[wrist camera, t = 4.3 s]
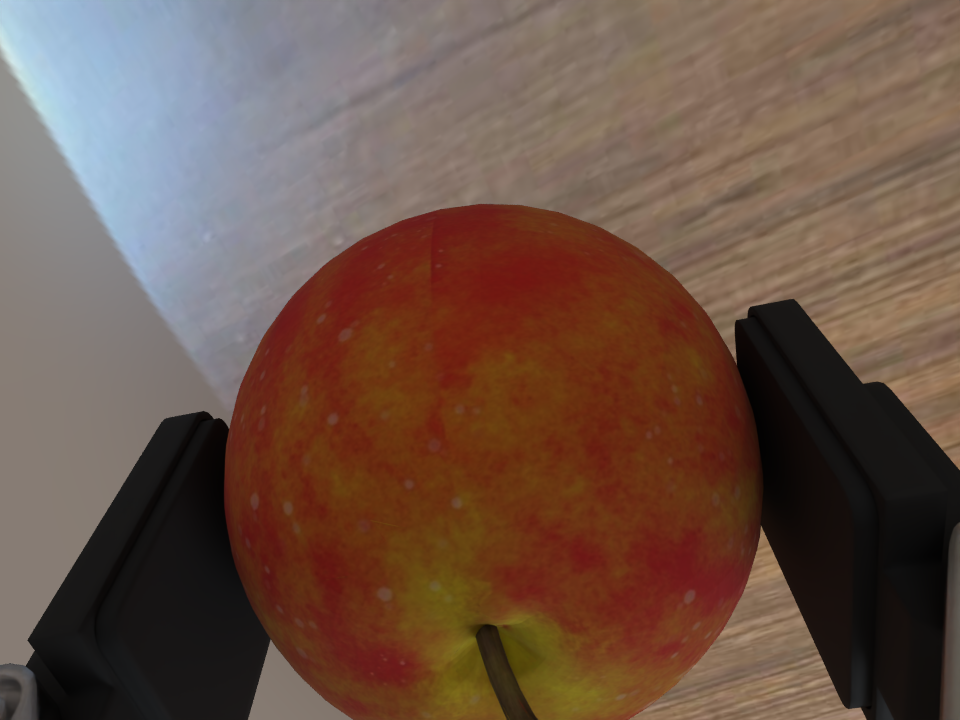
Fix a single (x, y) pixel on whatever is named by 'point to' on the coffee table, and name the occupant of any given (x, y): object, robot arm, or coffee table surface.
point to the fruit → (493, 473)
